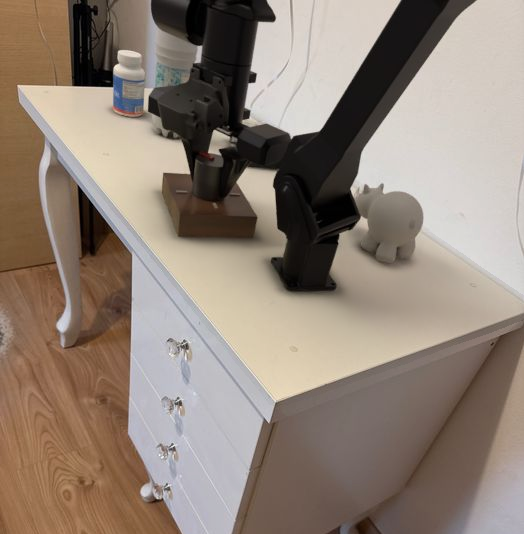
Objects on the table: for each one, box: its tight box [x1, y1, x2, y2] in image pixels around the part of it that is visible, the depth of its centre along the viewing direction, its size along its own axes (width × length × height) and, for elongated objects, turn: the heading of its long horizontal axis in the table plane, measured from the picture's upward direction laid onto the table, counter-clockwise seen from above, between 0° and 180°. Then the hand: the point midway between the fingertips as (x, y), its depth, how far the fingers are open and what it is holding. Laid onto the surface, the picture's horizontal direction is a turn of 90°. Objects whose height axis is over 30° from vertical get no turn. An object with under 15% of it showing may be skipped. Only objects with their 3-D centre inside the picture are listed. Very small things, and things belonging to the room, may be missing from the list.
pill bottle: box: [112, 49, 146, 118], centre depth 93 cm, size 6×5×10 cm
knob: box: [192, 151, 224, 201], centre depth 67 cm, size 4×4×5 cm
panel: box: [161, 172, 259, 239], centre depth 70 cm, size 12×10×3 cm
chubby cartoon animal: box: [353, 182, 424, 264], centre depth 71 cm, size 7×12×8 cm, turn 30°
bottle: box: [151, 27, 198, 139], centre depth 85 cm, size 7×7×20 cm
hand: (209, 189), depth 69 cm, fingers closed on knob, 4 cm apart
